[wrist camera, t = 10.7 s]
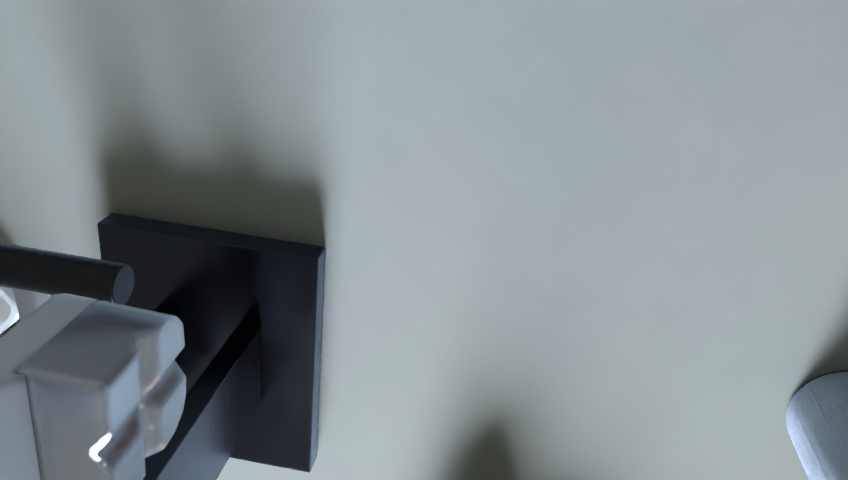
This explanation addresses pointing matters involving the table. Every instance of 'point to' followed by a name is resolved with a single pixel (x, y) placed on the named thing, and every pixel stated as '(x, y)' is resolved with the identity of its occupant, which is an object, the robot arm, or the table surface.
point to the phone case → (7, 309)
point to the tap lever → (60, 277)
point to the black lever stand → (231, 340)
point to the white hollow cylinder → (821, 426)
